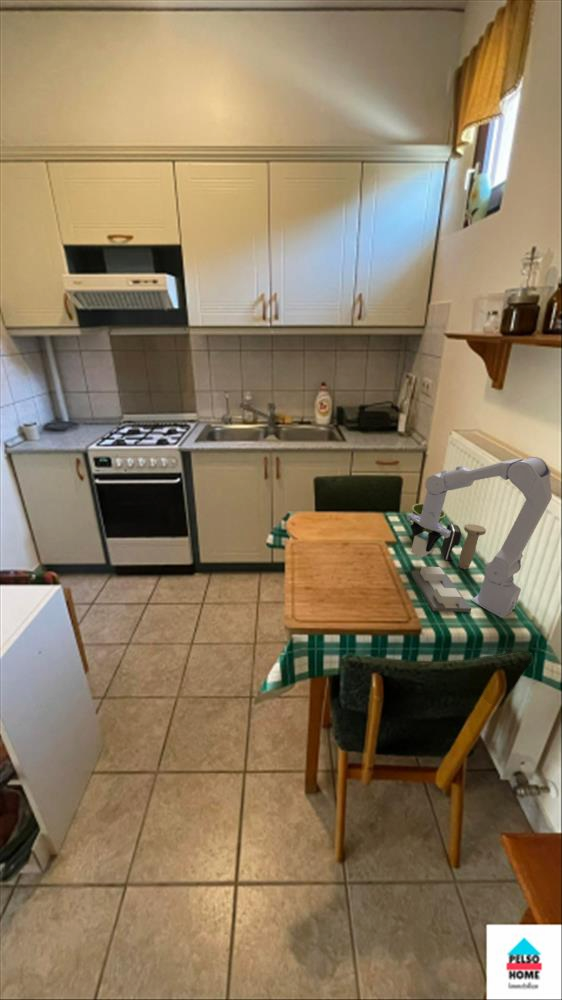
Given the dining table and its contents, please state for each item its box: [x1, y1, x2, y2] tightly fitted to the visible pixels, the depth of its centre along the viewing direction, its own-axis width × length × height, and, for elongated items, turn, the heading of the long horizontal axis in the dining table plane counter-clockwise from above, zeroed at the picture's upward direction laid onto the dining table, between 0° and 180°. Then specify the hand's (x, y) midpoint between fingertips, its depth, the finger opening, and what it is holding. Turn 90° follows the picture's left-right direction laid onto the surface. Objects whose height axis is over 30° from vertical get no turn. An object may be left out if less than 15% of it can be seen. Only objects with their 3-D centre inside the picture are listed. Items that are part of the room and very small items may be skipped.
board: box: [411, 565, 472, 613], centre depth 126 cm, size 18×11×4 cm, turn 4°
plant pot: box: [411, 503, 446, 536], centre depth 156 cm, size 12×12×11 cm
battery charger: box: [440, 523, 462, 561], centre depth 145 cm, size 7×4×11 cm, turn 169°
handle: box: [458, 523, 487, 570], centre depth 138 cm, size 5×6×15 cm
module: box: [410, 531, 434, 558], centre depth 137 cm, size 4×6×6 cm, turn 129°
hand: (422, 547), depth 137 cm, fingers closed on module, 4 cm apart
